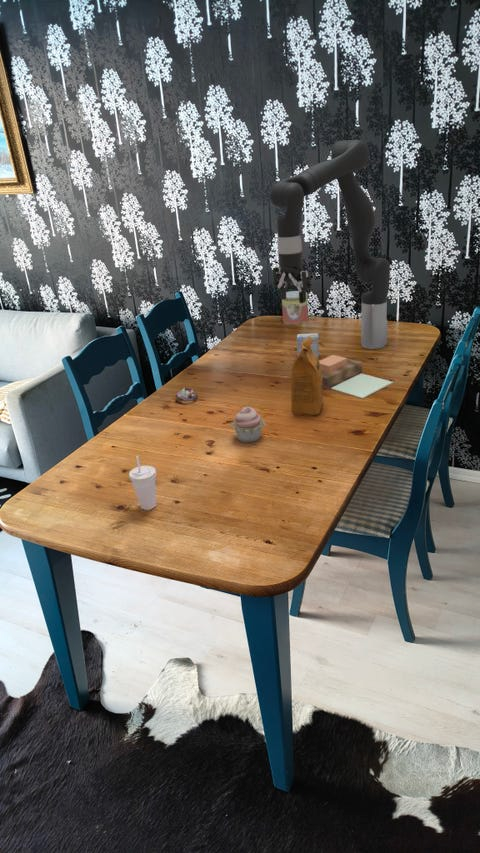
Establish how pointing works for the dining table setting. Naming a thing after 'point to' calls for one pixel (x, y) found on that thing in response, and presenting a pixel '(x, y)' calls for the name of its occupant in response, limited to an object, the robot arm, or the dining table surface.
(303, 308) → the canned food
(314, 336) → the medicine box
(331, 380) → the deck
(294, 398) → the coffee package
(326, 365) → the pink rectangular block
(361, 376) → the mat
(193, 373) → the dining table surface
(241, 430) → the cupcake
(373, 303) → the robot arm
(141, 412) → the dining table surface
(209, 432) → the dining table surface
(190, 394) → the pastry
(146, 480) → the smoothie
